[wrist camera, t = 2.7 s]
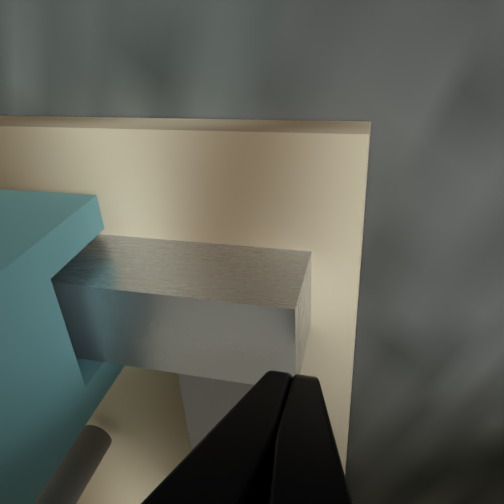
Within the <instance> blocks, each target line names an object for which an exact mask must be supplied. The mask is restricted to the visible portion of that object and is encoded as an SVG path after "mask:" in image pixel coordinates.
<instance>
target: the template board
mask: <svg viewBox="0 0 504 504" xmlns="http://www.w3.org/2000/svg"><path fill="white" fill-rule="evenodd" d="M370 130H371V122H366V121H303V120H241V119H178V118H116V117H53V116H0V189H5V190H22V191H39V192H56V193H73V194H90V195H97V199H98V203H99V208H100V212H101V216H102V220H103V224H104V229H103V230H102V231H101V232H100V233H99V234H103V235H115V236H128V237H140V238H153V239H165V240H177V241H190V242H202V243H215V244H227V245H239V246H252V247H264V248H277V249H289V250H302V251H312V256H311V327H310V332H309V336H308V340H307V345H306V349H305V354H304V358H303V362H302V367H301V371H300V374H301V375H308V376H315V377H317V378H318V379H319V382H320V385H321V389H322V393H323V396H324V400H325V404H326V408H327V411H328V415H329V419H330V422H331V426H332V430H333V434H334V437H335V441H336V445H337V448H338V452H339V456H340V460H341V463H342V467H343V471H344V474H345V473H346V459H347V445H348V432H349V418H350V404H351V391H352V377H353V363H354V349H355V336H356V322H357V308H358V295H359V281H360V267H361V254H362V240H363V226H364V213H365V199H366V185H367V171H368V158H369V144H370ZM86 425H94V426H98V427H100V428H102V429H103V430H105V431H106V432H107V433H108V434H109V435H110V437H111V439H112V443H111V445H110V447H109V449H108V450H107V452H106V454H105V455H104V457H103V459H102V461H101V462H100V464H99V466H98V467H97V469H96V471H95V473H94V474H93V476H92V478H91V480H90V481H89V483H88V485H87V486H86V488H85V490H84V492H83V493H82V495H81V497H80V498H79V500H78V502H77V504H141V503H142V502H143V501H144V500H145V499H146V498H147V497H148V496H149V495H150V493H151V492H152V491H153V490H154V489H155V488H156V487H157V486H158V485H159V484H160V483H161V482H162V481H163V480H164V479H165V478H166V477H167V476H168V475H169V474H170V473H171V472H172V471H173V469H174V468H175V467H176V466H177V465H178V464H179V463H180V462H181V461H182V460H183V459H184V458H185V457H186V456H187V455H188V454H189V453H190V452H191V451H192V449H191V444H190V438H189V433H188V427H187V422H186V416H185V411H184V405H183V400H182V394H181V389H180V383H179V378H178V373H172V372H165V371H159V370H152V369H146V368H139V367H132V366H126V365H125V366H124V368H123V369H122V371H121V372H120V374H119V375H118V377H117V378H116V380H115V381H114V383H113V384H112V386H111V387H110V389H109V390H108V392H107V393H106V395H105V396H104V398H103V399H102V401H101V402H100V404H99V405H98V407H97V409H96V410H95V412H94V413H93V415H92V416H91V418H90V419H89V421H88V422H87V424H86ZM86 425H85V426H86Z"/></svg>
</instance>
